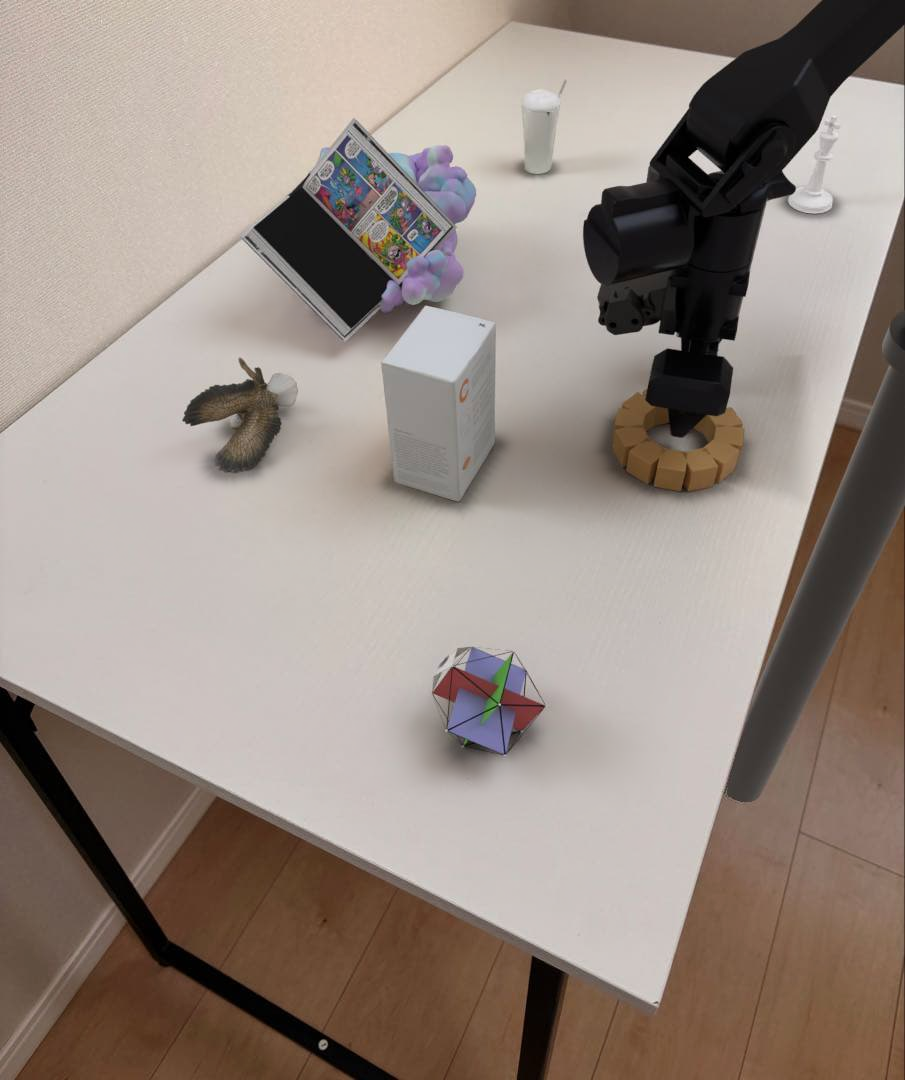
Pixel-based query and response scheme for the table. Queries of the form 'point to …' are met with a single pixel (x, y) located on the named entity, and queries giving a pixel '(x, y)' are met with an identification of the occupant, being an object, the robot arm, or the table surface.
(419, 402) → the small box
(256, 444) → the eagle figurine
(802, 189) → the chess piece
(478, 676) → the geometric puzzle
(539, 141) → the milkshake
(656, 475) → the segmented wooden ring
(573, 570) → the table surface
